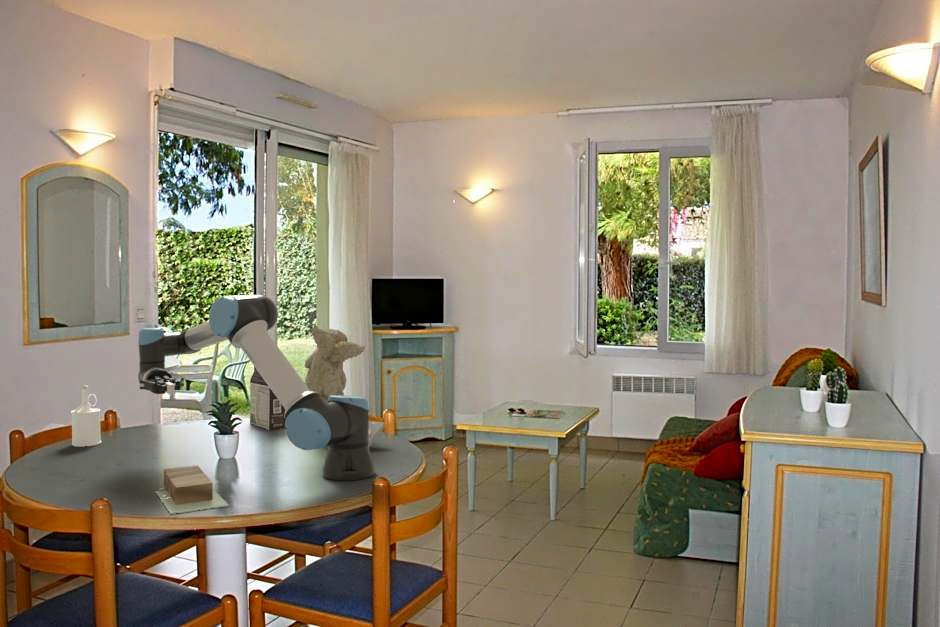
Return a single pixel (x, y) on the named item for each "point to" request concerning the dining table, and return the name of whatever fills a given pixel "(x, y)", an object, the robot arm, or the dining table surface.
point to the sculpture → (329, 362)
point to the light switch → (375, 430)
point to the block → (187, 485)
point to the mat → (191, 507)
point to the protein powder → (265, 405)
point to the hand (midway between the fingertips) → (171, 389)
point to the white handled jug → (86, 422)
